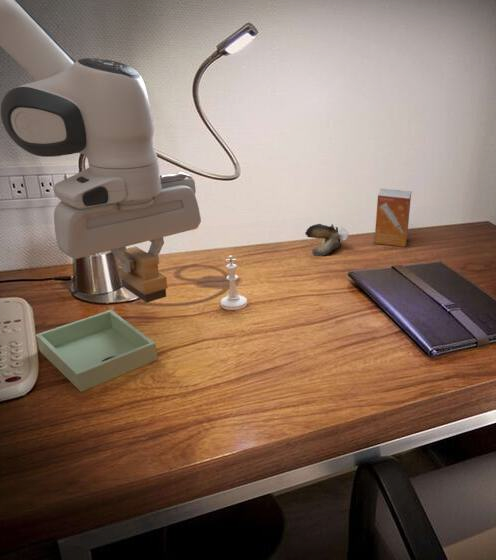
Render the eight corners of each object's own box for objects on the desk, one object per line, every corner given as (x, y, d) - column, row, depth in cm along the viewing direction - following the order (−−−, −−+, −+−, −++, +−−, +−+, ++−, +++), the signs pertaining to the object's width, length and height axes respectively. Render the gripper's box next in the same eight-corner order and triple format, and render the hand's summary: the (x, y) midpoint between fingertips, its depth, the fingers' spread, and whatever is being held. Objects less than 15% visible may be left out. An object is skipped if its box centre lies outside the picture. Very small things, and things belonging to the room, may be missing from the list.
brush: (120, 286, 84) (114, 248, 82) (142, 280, 87) (137, 243, 84) (146, 303, 80) (141, 265, 78) (168, 296, 83) (164, 259, 80)
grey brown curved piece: (323, 234, 133) (298, 237, 126) (338, 215, 130) (314, 217, 122) (340, 257, 131) (316, 261, 124) (356, 238, 128) (332, 242, 120)
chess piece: (248, 308, 99) (246, 260, 95) (221, 311, 98) (217, 262, 93) (246, 296, 103) (243, 250, 99) (219, 299, 102) (215, 252, 97)
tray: (40, 355, 81) (35, 334, 80) (114, 328, 90) (111, 309, 88) (82, 396, 74) (76, 374, 72) (158, 363, 82) (155, 342, 80)
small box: (374, 244, 133) (377, 194, 127) (377, 235, 139) (379, 187, 133) (405, 247, 133) (410, 198, 127) (407, 238, 139) (411, 190, 133)
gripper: (182, 166, 85) (190, 244, 91) (39, 187, 70) (61, 280, 76) (204, 174, 82) (211, 255, 88) (60, 199, 67) (81, 295, 73)
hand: (141, 267), depth 82 cm, fingers closed on brush, 2 cm apart
